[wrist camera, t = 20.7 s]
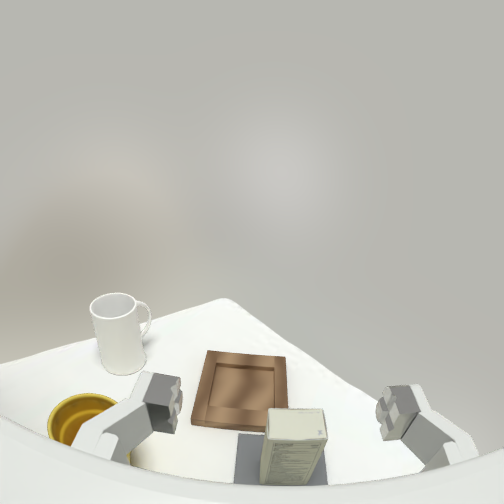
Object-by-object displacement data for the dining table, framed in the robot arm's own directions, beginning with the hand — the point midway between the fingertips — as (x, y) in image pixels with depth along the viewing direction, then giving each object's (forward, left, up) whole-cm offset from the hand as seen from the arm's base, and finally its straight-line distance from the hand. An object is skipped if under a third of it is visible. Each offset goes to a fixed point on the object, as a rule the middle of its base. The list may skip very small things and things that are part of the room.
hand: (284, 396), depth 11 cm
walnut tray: (-2, +27, -30) cm, 40 cm away
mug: (-23, +32, -30) cm, 50 cm away
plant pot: (-19, +9, -30) cm, 37 cm away
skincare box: (+4, +12, -30) cm, 32 cm away
